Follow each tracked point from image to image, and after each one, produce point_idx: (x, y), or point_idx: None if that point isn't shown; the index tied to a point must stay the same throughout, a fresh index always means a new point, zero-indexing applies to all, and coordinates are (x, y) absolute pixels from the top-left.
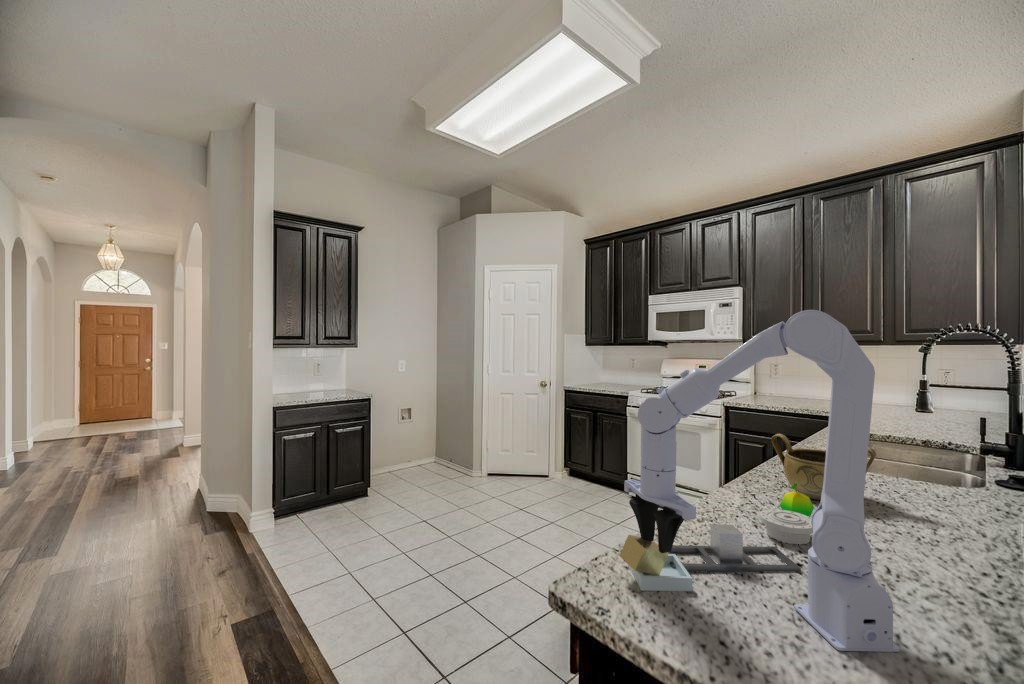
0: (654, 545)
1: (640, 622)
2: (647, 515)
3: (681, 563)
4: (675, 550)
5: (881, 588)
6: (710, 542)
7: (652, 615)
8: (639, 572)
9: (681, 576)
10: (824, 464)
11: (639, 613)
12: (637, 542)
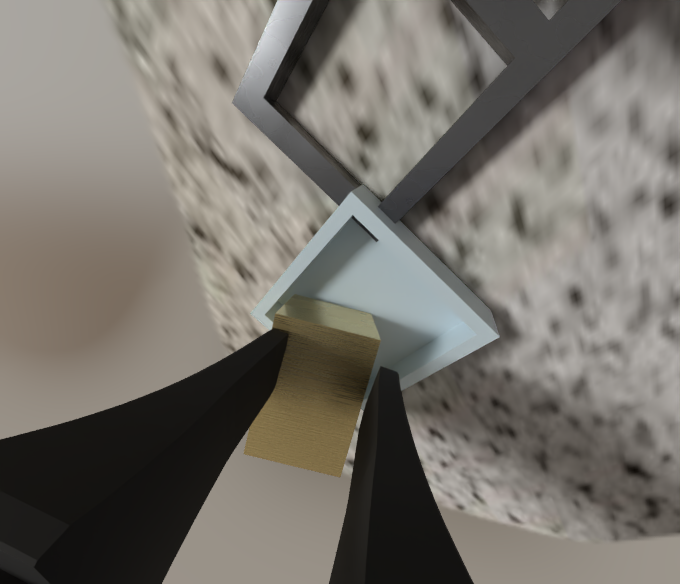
0: (319, 365)
1: (434, 471)
2: (198, 479)
3: (414, 254)
4: (295, 51)
5: None
6: None
7: (443, 446)
8: None
9: (458, 347)
10: None
11: (417, 450)
12: (298, 465)
